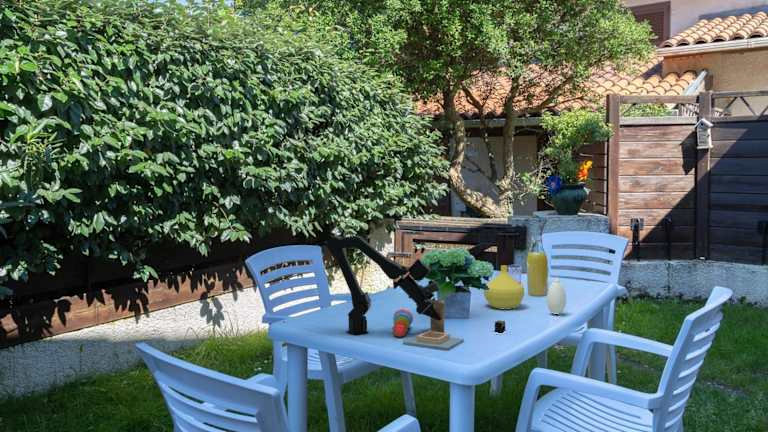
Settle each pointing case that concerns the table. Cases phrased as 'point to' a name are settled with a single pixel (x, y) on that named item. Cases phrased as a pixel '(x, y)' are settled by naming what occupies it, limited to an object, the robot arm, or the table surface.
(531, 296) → the table surface
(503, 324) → the black block on base
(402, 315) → the stacking toy
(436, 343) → the grey board with frame
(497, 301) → the vase
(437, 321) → the walnut pillar
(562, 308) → the sauce bottle
